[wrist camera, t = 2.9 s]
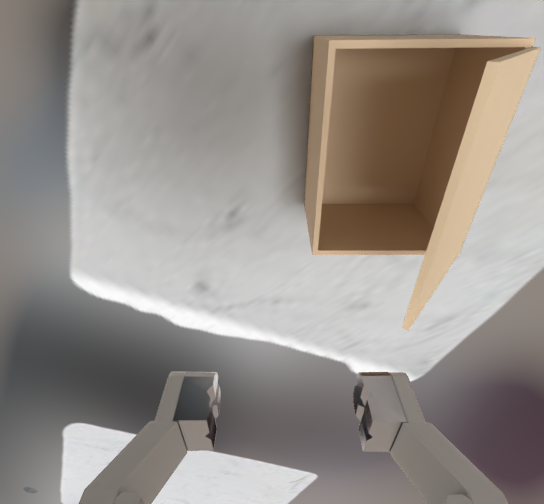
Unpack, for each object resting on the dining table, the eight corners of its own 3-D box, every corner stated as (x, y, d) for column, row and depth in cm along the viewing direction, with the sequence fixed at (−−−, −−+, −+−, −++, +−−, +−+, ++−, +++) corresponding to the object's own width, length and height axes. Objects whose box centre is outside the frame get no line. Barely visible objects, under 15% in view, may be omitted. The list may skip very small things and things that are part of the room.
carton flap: (401, 327, 24) (408, 330, 24) (487, 61, 14) (500, 62, 14) (454, 250, 32) (460, 252, 32) (532, 47, 22) (541, 47, 22)
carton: (304, 204, 42) (312, 254, 33) (313, 35, 31) (329, 40, 22) (414, 204, 41) (453, 254, 32) (460, 34, 31) (535, 38, 22)
